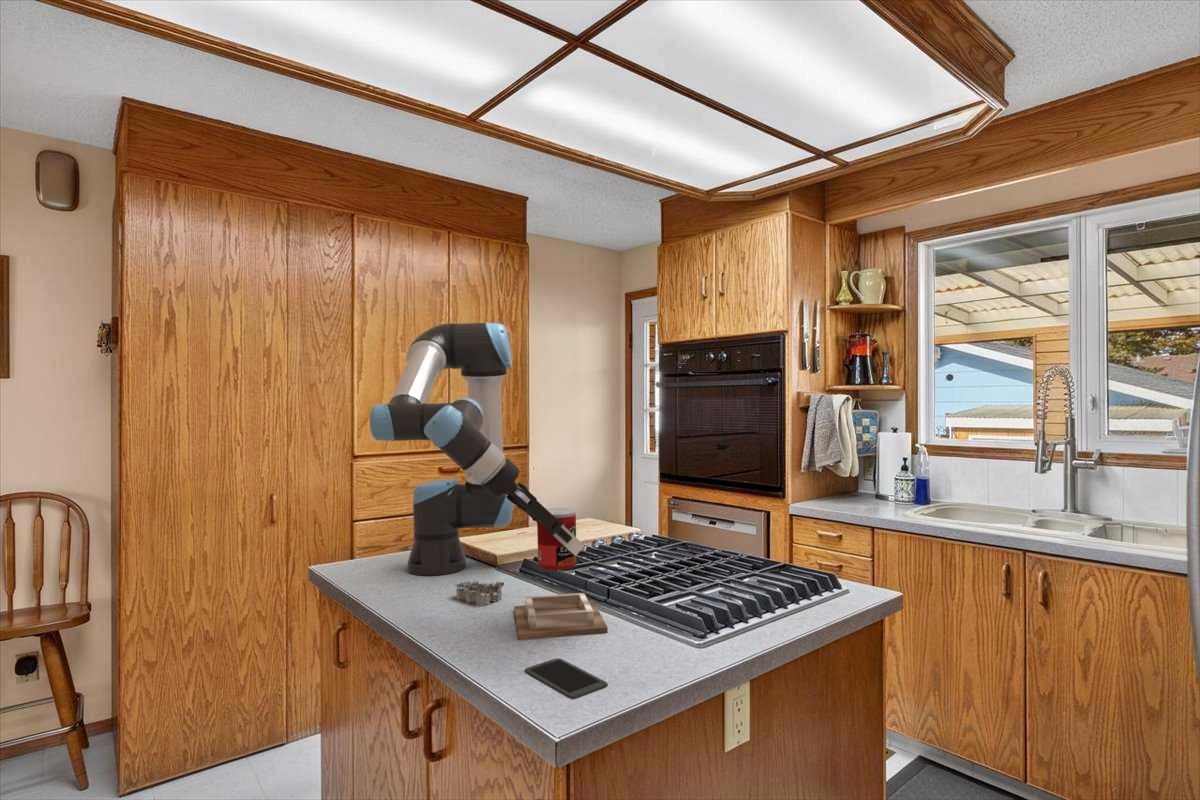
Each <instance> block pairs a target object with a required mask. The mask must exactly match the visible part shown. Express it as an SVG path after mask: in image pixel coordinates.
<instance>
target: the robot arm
mask: <svg viewBox="0 0 1200 800" xmlns="http://www.w3.org/2000/svg"><path fill="white" fill-rule="evenodd" d="M508 333H509V332H508V330H507V328H506V326H505V325H503V324H502V323H496V322H495V323H494V322H469V323H468V322H467V323H465V322H464V323H462V322H459V323H452V322H451V323H442V324H438V325H435V326H433V327H431V328H429V329H427V330H426V331H424V332H422V333H421V334H420V335H418V336H417V337H416V338H415V339H413V341H412V342H411V344H410V346H409V347H408V350H407V352H406V362H407V363H406V364H405V367H404V369H403V371H402V374H401V376H400V377H399V379H398V382H397V385H396V387H395V389H394V391H393V394H392V396H391V398H390V400H389V403H386V402H384V403H379V404H378V403H377V404H375V405H374V406H372V408H371V410H370V413H369V427H370V428H369V431H370V432H371V436H372V438H373V439H374V440H376V441H385V442H386V441H387V442H388V441H389V442H393V443H394V442H400V441H401V442H403V441H404V442H405V441H431V442H432V445H434V446H435V447H437V448H438V449H439V450H440V451H442V452H443V453H444V454H445V455H446V456H447V457H448V458H450V459H451V461H453V462H454V463H455V464H456V465H457V467H459V468H460V469H461V470H462V471H464V472H465V473H466V474H465V478H464V479H465V481H464V483H460V482H459V480H458V478H444V479H437V480H431V481H428V482H424V483H419V484H418V485H416V486H415V488H414V489H413V495H412V496H413V497H412V503H411V504H412V512H413V514H412V515H413V518H412V519H413V543H412V546H411V550H410V553H409V557H408V559H407V572H408V573H410V574H413V575H417V576H439V575H448V574H453V573H457V572H460V571H462V570H464V569H465V568H466V567H467V558H466V554H465V551H464V548H463V545H462V543H461V539H460V530H459V529H478V528H480V529H481V528H482V529H483V528H485V529H487V528H492V529H495V528H504V527H508V526H509V525H510V524H511V521H512V517H513V511H514V505H515V506H516V507H517V508H518V509H520V510H521V511H523V512H524V513H526V514H527V515H528V516H529V517H530V518H531V519H532V521H533V522H536V523H537V520H538V521H539V522H540V523H541V524H543V525H544V526H545V527H546V528H547V529H548V530H549V531H550V533H551V534H550V535H549V536H550V537H552V536H554V537H555V538H556V539H558V540H559V541H560V542H561V543H562V544H563V545H564V546H565V547H566V548H567V549H568V550H569V551H570V552H572V553H573V554H574V555H575V556H576V557H577V555H578V554H580V552H581V551H582V550H583V549H584V547H586V545H585V544H584V543H583V542H581V541H580V540H579V539H578V538H577V536H576V537H575V536H574V535H573V534H572V533H571V532H570V531H569V530H568V529H567V528H566V527H565V526H563V524H562V522H561V521H559V520H558V519H556V518H555V517H554V516H553V515H552V514H551V513H550V512H549V511H548V510H547V509H548V508H546V507H545V506H543V504H541V503H540V502H539V501H538V500H537V497H536V496H535V495H534V494H532V492H530V491H529V489H528V487H527V486H526V485H524V484H523V483H522V484H521V483H520V482H518V483H516V480H517V479H518V477H519V475H520V472H521V471H520V469H519V467H518V466H517V465H516V464H515V463H514V462H512V461H511V460H510V459H509V458H505V457H506V455H505V454H504V442H503V440H504V437H503V412H502V411H503V407H502V406H503V405H502V381H503V379H505V377H506V376H507V375H508V373H507V372H508V371H507V369H508V370H510V369H511V368H512V367H513V361H512V360H513V359H512V351H511V350H512V349H511V343H510V340H509V339H510V337H509V334H508ZM448 369H454V370H460V375H461V377H462V378H463V379H464V380H465V381H466V383H467V397H461V398H458V399H456V400H454V401H453V402H443V403H442V402H438V403H437V402H435V403H428V402H429V400H430V397H431V393H432V391H433V388H434V386H435V383H436V380H437V377H438V375H439V374H441V372H442V371H443V370H448ZM459 483H460V484H459ZM552 526H553V527H552Z"/></svg>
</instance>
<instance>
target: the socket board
mask: <svg viewBox="0 0 1200 800" xmlns="http://www.w3.org/2000/svg"><path fill="white" fill-rule="evenodd" d="M513 611H514V612H515V613H514V612H513V613H514V619H515V624H516V625H515V626H516V633H517V640H519V641H522V640H533V639H534V640H535V639H545V638H557V637H559V638H560V637H568V636H569V637H570V636H581V635H583V636H584V635H595V634H607V633H608V631H609V629H608V625H607V624H606V622H605V620H604V618H603V616H602V614H601V613H600V611H599V609H598V607H597V605H596V602H595V601H594V600H588V598H587V595H586V594H585V592H577V593H564V594H563V593H562V594H546V595H532V596H525V604H524V605H523V604H522V605H514V606H513Z"/></svg>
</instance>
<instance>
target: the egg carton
mask: <svg viewBox="0 0 1200 800" xmlns="http://www.w3.org/2000/svg"><path fill="white" fill-rule="evenodd" d="M505 585H506V584H505V582H503V581H496V582H495V583H493V582H491V583H488V582H480V583H479V581H477V580H473V582H471V580H468V581H464V582H463V581H462V582H459V583H455V582H454V583H453V586H455V587H456V600H458V599H461V600H465V602H466V601H467V602H466V603H468V602H470V603H475V605H476V604H477V605H476V606H478V605H480V606H482V605H481V604H486V605H485V606H488V605H487V604H489V605H491V602H490V601H492V602H500V601H499V600H501V601H502V596H503V595H502V594H503V591H502V588H503V587H504V586H505ZM487 594H489V595H487ZM494 600H495V601H494Z"/></svg>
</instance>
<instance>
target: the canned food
mask: <svg viewBox="0 0 1200 800" xmlns="http://www.w3.org/2000/svg"><path fill="white" fill-rule="evenodd" d="M546 509H547V510H548V511H549V512H550V513H551V514H552V515H553V516H554V517H555V518H556V519H558V520H559V521H561V522H562V524H563V526H565V527H566V528H567V529H568V530H569V531H570V532H571V533H572V534H573V535H574V536H575V537H576V538H577V514H576V510H575V509H573V508H566V507H548V508H546ZM536 525H537V526H536V527H537V528H536V529H537V530H536V531H537V563H538V567H540V568H541V569H544V570H548V571H563V570H564V571H565V570H569V569H572V568H574V567H575V566H576V564H577V555H576V556H575V555H574V554H573V553H572V552H570V551H569V550H568V549H567V548H566V547H565V546H564V545H563V544H562V543H561V542H560V541H559V540H558V539H556V538H555V537H554V536H552V537H550V536H549V535H550V534H551V533H550V531H549V530H548V529H547V528H546V527H545V526H544V525H543V524H541V523H540V522H539V521H538V520H537V522H536ZM552 527H553V526H552Z"/></svg>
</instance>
